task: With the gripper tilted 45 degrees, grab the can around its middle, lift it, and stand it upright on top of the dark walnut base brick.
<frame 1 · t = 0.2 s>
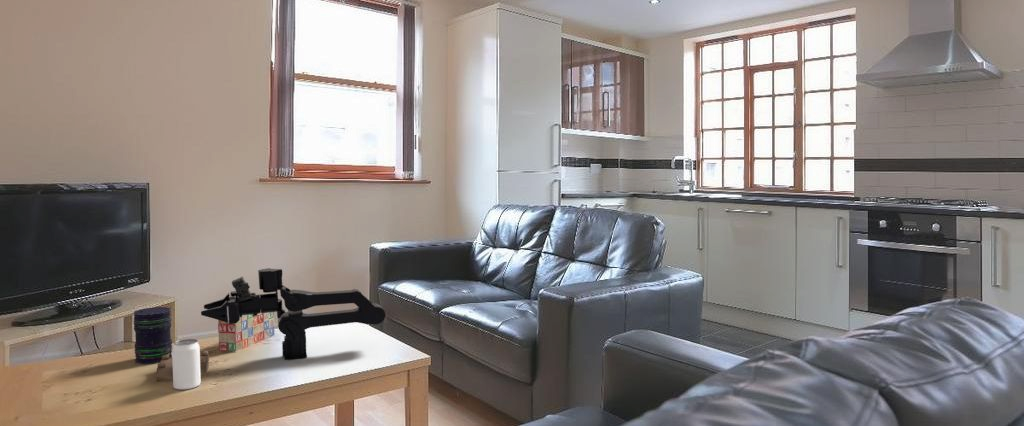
hand: (202, 309, 182), 17 cm above the table, tool horizontal, fingers open, 9 cm apart
can: (187, 386, 166), on the table
base brick: (184, 373, 176), on the table
stack of blocks: (248, 343, 208), on the table
storage jar: (154, 360, 189), on the table
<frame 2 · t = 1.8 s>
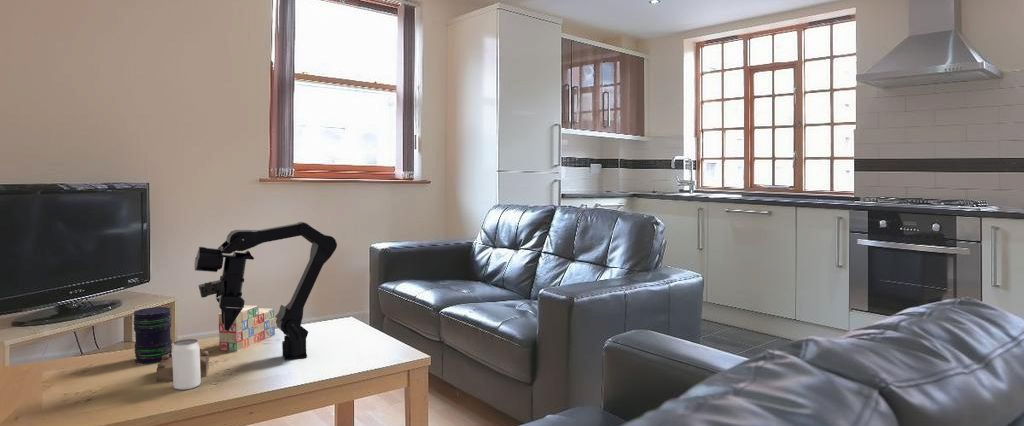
hand: (225, 326, 181), 12 cm above the table, tool pointing down, fingers open, 9 cm apart
nothing on the table moved.
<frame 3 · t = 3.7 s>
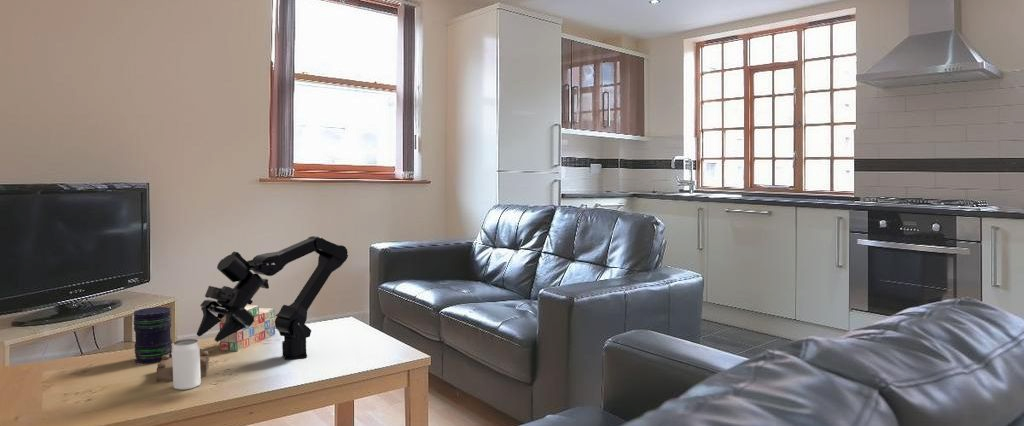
hand: (206, 338, 169), 12 cm above the table, tool tilted 45°, fingers open, 9 cm apart
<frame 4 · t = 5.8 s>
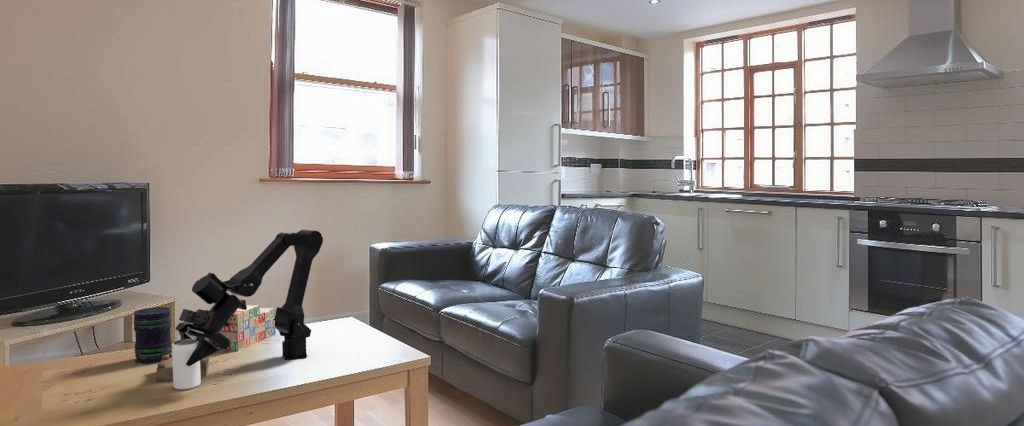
hand: (181, 363, 164), 7 cm above the table, tool tilted 45°, fingers closed on can, 6 cm apart
can: (187, 386, 166), on the table, touching gripper
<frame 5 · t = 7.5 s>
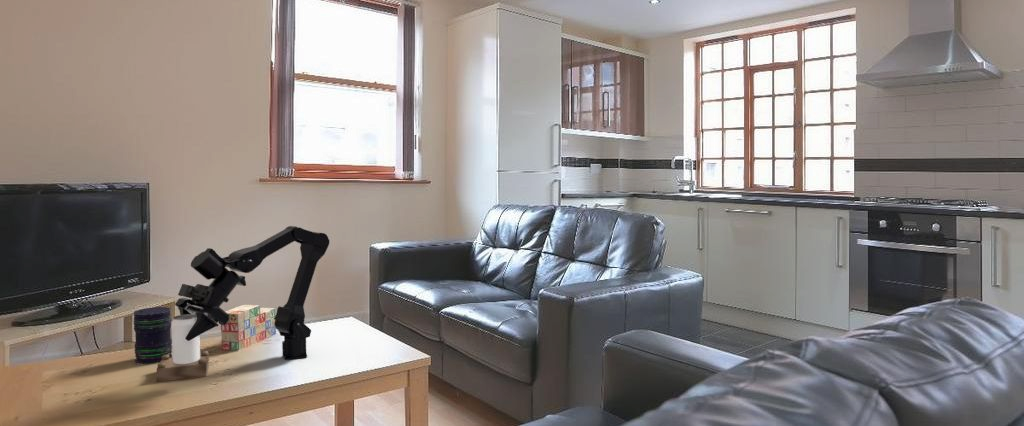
hand: (180, 338, 164), 13 cm above the table, tool tilted 45°, fingers closed on can, 6 cm apart
can: (186, 362, 166), point 6 cm above the table, touching gripper
when the fingers open (11 cm above the table, at t = 9.5 s): can drops 1 cm, resting on base brick.
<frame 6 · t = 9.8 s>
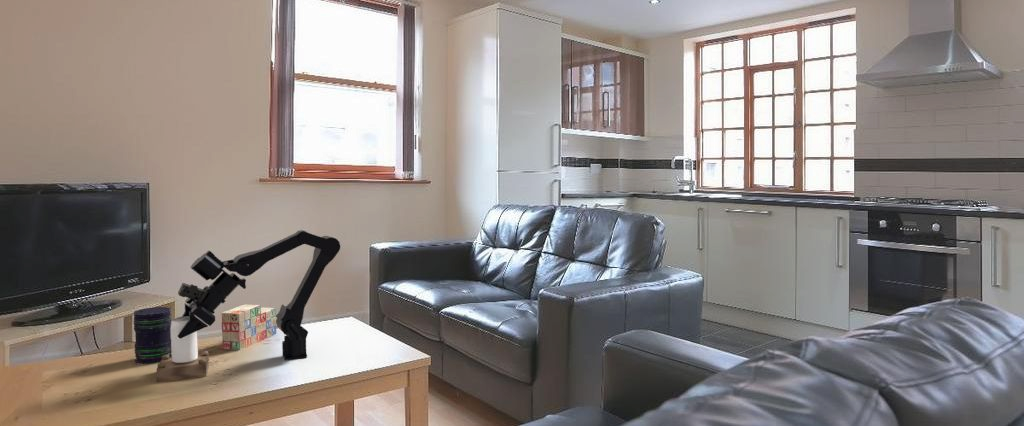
hand: (177, 333, 175), 12 cm above the table, tool tilted 45°, fingers open, 9 cm apart
can: (185, 361, 176), point 3 cm above the table, touching base brick
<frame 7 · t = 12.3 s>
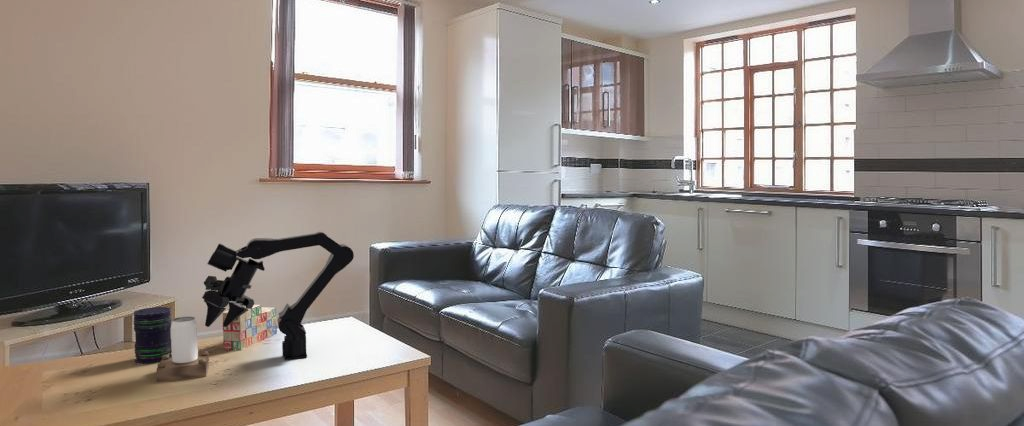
hand: (215, 326, 183), 11 cm above the table, tool tilted 25°, fingers open, 9 cm apart
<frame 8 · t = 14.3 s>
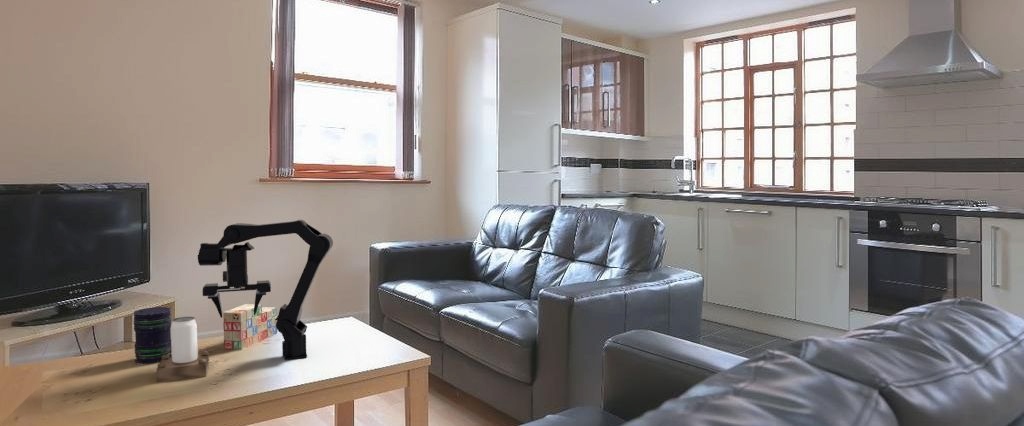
hand: (238, 316, 190), 13 cm above the table, tool pointing down, fingers open, 9 cm apart
at the end: can 0.4 cm off-centre on the base brick, point 3.3 cm above the base brick's base; can tilted 0°; the gripper is holding nothing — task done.
